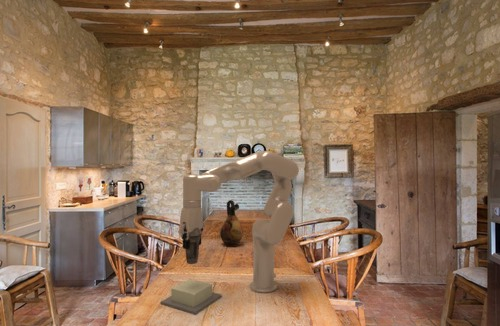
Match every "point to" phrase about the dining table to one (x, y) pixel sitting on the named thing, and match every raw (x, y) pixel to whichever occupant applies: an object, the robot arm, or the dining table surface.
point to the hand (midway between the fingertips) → (192, 246)
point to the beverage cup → (193, 246)
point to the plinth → (191, 309)
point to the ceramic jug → (231, 227)
